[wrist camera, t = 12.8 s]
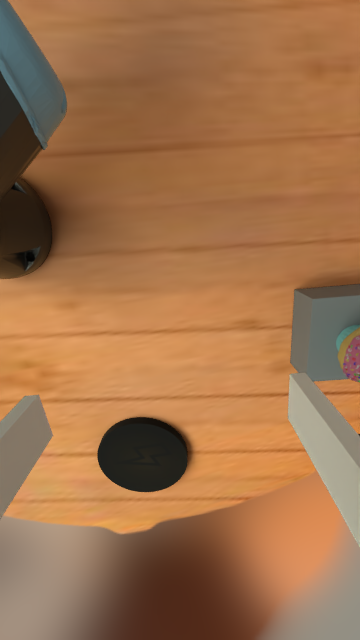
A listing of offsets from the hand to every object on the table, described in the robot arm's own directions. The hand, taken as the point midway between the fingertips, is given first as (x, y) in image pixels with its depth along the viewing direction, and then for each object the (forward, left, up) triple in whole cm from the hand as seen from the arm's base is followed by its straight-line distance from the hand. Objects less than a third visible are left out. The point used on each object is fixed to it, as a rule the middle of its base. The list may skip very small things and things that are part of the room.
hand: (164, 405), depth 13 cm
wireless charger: (+33, -10, -29) cm, 45 cm away
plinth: (+8, +25, -28) cm, 39 cm away
